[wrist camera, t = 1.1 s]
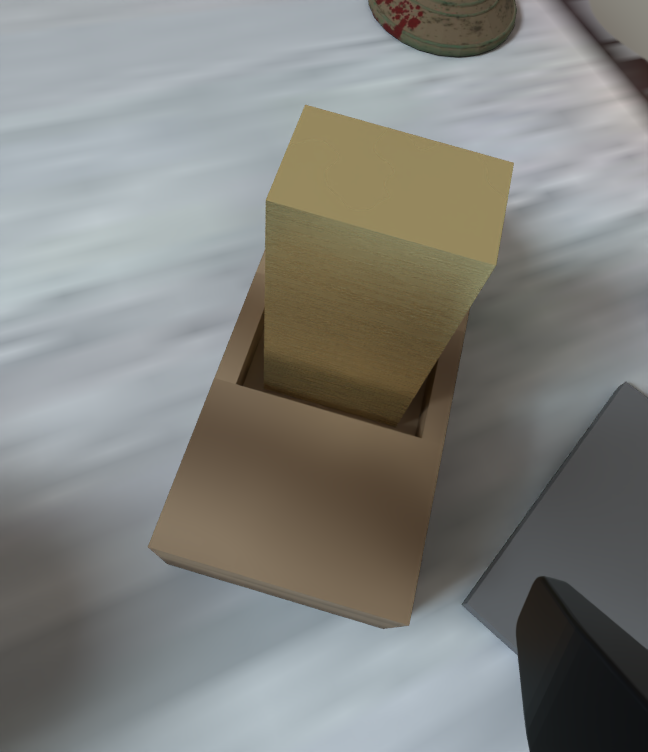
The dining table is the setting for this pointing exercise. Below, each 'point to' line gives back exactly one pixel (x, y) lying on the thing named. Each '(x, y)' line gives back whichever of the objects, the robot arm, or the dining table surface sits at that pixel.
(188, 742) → the dining table surface
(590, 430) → the rubber mat
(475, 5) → the candlestick holder
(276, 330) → the tan wood-grain block
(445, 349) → the body
